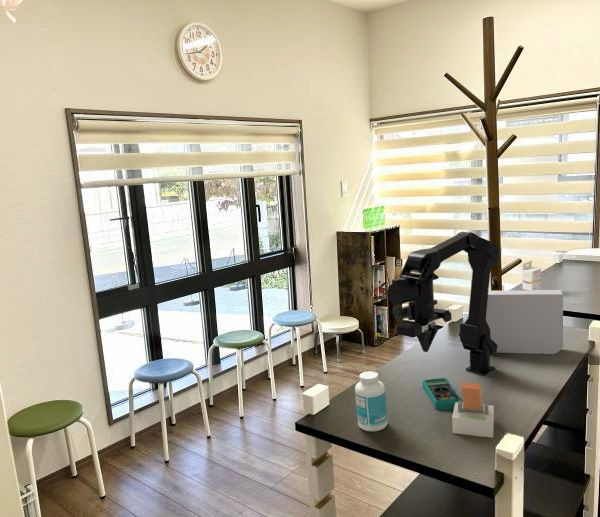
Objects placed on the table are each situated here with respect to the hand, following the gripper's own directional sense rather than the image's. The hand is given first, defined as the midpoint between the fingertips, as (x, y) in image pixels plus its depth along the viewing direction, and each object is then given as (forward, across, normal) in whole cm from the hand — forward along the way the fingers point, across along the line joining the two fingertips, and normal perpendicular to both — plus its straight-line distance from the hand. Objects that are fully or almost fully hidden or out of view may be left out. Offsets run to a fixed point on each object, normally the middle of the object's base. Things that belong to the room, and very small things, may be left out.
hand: (425, 351), depth 140 cm
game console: (+12, -43, +5) cm, 45 cm away
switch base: (+12, +10, +20) cm, 25 cm away
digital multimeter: (+13, 0, +5) cm, 14 cm away
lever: (+7, +10, +20) cm, 23 cm away
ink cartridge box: (+12, -112, -20) cm, 114 cm away
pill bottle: (+12, +24, 0) cm, 27 cm away
